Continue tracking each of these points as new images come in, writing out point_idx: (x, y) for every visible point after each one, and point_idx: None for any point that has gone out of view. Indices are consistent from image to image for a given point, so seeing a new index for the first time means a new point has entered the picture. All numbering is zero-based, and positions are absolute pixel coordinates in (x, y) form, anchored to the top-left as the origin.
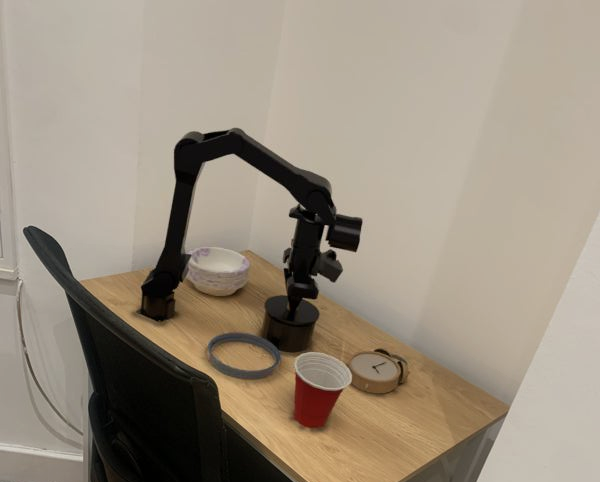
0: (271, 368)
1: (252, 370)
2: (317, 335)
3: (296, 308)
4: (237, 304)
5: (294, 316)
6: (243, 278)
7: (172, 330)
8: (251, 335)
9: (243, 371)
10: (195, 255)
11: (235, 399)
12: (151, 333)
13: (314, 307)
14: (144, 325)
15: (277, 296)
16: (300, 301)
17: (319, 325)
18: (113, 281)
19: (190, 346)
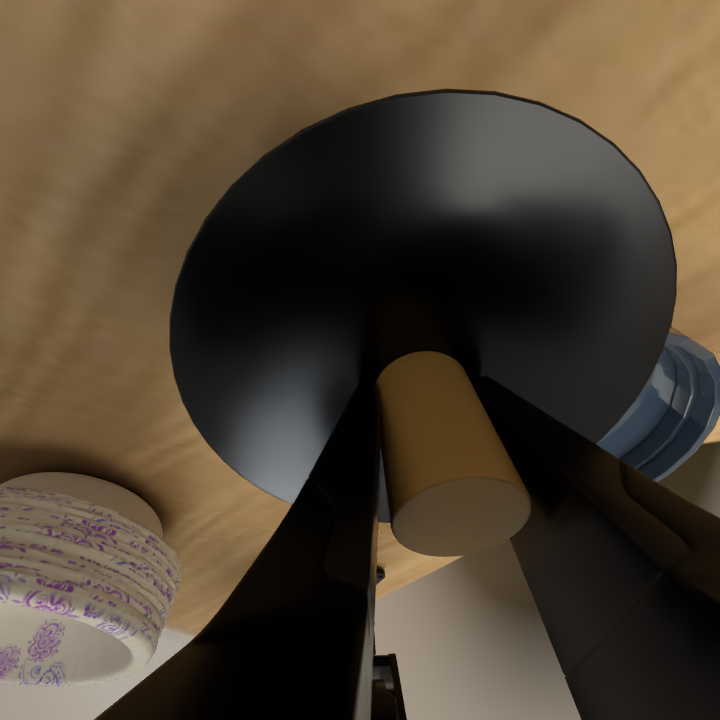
0: (717, 362)
1: (709, 420)
2: (246, 49)
3: (513, 395)
4: (156, 452)
5: (555, 374)
6: (39, 539)
7: (403, 550)
8: None
9: (702, 441)
10: (27, 661)
11: None
12: (426, 571)
13: (320, 162)
14: (395, 582)
15: (257, 475)
16: (610, 456)
17: (78, 12)
18: None
19: None
